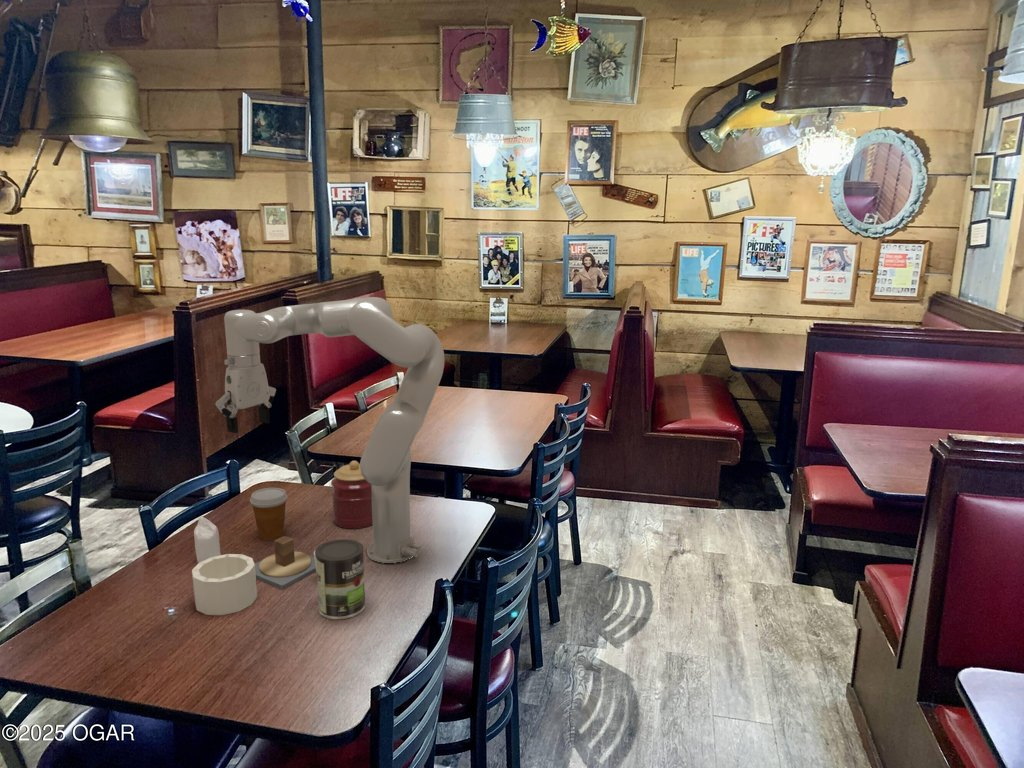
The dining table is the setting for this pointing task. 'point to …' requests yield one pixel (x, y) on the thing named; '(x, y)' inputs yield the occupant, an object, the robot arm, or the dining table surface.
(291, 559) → the lid
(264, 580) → the mat
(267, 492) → the disposable coffee cup
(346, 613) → the coffee can
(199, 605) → the bowl
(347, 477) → the canister
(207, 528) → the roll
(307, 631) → the dining table surface
